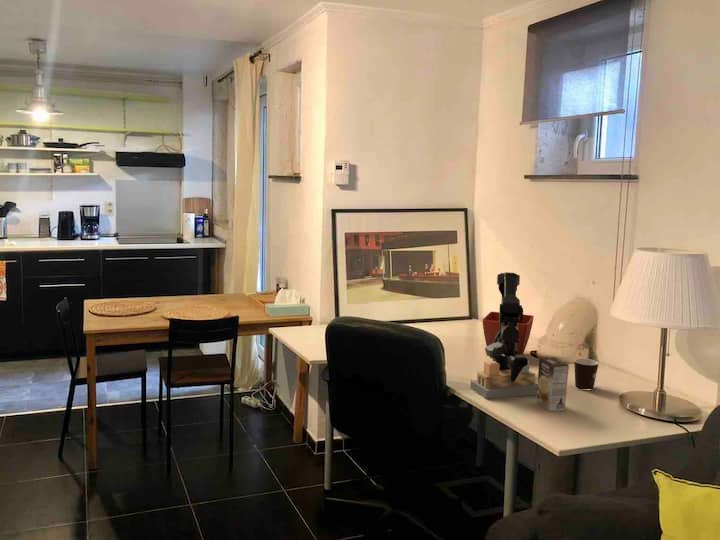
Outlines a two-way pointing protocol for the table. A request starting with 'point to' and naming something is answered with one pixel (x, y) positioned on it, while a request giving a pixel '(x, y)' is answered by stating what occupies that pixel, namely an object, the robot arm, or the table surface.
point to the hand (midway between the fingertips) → (506, 377)
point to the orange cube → (491, 368)
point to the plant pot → (493, 326)
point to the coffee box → (552, 384)
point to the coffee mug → (585, 373)
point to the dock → (504, 390)
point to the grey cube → (525, 368)
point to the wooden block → (505, 379)
